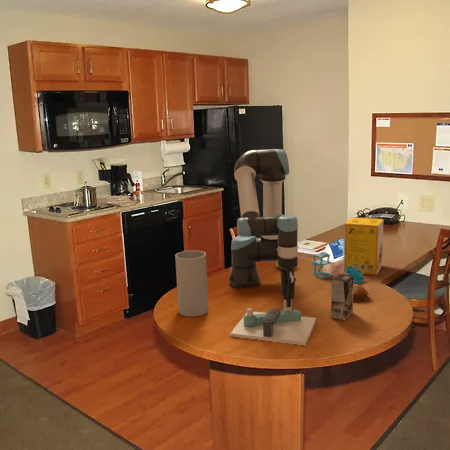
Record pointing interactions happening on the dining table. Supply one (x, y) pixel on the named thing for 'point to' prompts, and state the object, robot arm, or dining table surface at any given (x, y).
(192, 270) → the cylinder vase
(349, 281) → the coffee box
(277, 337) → the base plate
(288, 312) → the latch bar
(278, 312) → the bar
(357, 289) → the bread roll
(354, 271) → the gear
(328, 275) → the chair
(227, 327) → the dining table surface
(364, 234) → the packaging box
